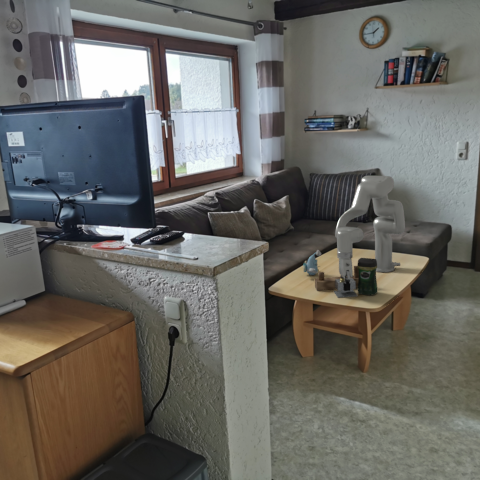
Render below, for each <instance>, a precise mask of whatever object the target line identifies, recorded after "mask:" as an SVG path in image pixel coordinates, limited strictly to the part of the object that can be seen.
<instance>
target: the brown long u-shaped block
mask: <svg viewBox="0 0 480 480" xmlns="http://www.w3.org/2000/svg"><path fill="white" fill-rule="evenodd" d="M317 274H318V278H317V277H316V278H314V287H315V290H316V291H317V292H320V291H322V292H323V291H337V289H336V287H335V279H341V278H340V276H331V277H330V276H329V277H325V272H324V271H319V272H318V273H317ZM346 277H347V276H346ZM350 278H351V277H350ZM352 278H353V280H354V281H355V283H356V289H358V280H359V271H358V267H357V265H353V277H352Z"/></svg>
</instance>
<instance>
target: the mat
mask: <svg viewBox="0 0 480 480" xmlns="http://www.w3.org/2000/svg"><path fill="white" fill-rule="evenodd" d="M333 294H335V296H336V297H337V298H338V299H341V298H352V297H353V298H354V297H356V298H357V297H358V296H359V295H358V294H357V293H356V291H355V289H352V290H350V291H344V290H339V291H338V290H333Z"/></svg>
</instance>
